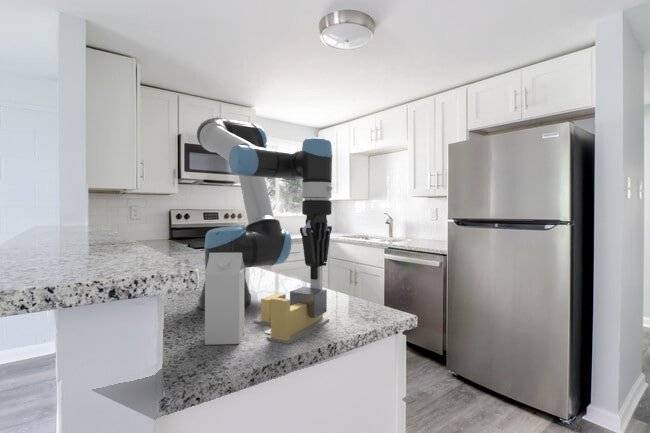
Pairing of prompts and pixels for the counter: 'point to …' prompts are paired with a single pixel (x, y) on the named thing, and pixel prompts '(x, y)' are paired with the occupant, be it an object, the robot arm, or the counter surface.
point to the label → (268, 331)
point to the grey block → (310, 300)
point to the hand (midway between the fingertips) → (316, 291)
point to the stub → (267, 309)
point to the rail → (291, 321)
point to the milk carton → (224, 299)
